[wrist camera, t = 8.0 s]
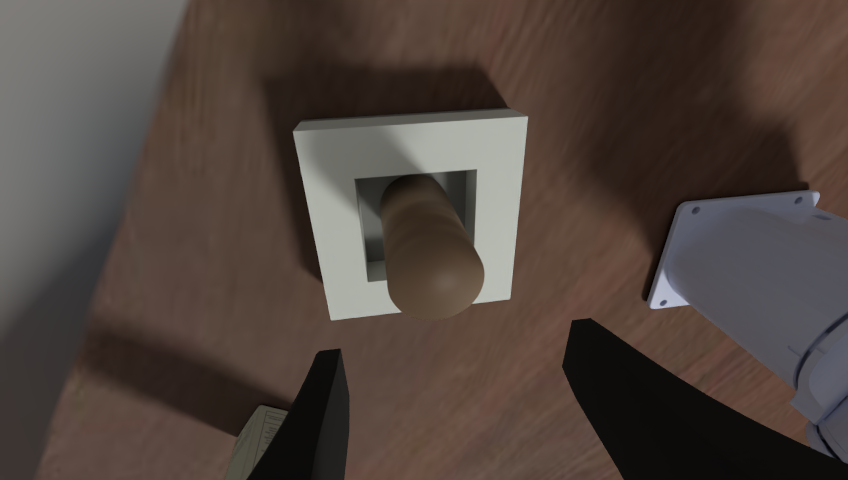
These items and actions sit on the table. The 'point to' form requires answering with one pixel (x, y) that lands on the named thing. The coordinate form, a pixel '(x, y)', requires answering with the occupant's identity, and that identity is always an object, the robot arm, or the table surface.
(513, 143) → the socket block
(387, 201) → the pin
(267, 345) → the table surface
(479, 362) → the table surface
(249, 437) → the skincare box
